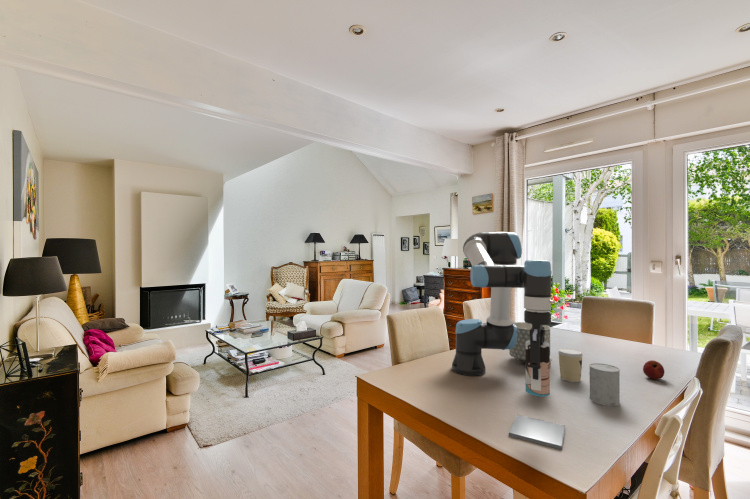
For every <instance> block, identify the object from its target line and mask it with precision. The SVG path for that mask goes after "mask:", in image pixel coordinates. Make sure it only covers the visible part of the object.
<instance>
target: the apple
mask: <svg viewBox="0 0 750 499" xmlns="http://www.w3.org/2000/svg"><path fill="white" fill-rule="evenodd" d="M642 372H643V374H644V375H645V376H646V377H647V378H649V379H651V380H660V379H662V378H663V377H664V376H665V369H664V366H663V365H662V364H661V363H660V362H659V361H656V360H648V361H646V362H645V363H644V364H643V366H642Z"/></svg>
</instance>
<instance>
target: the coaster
mask: <svg viewBox="0 0 750 499" xmlns="http://www.w3.org/2000/svg"><path fill="white" fill-rule="evenodd" d="M509 429H510V430H509V431H508V436H509V437H512V438H516V439H519V440H524V441H527V442H531V443H536V444H538V445H542V446H545V447H546V446H547V447H550V448H553V449H557V450H563V443H564V436H565V432H566V431H565V430H566V425H565V424H560V423H556V422H552V421H547V420H544V419H539V418H534V417H531V416H526V415H521V414H517V415H516V417H515V418H514V421H513V422H512V425H511V427H510V428H509Z"/></svg>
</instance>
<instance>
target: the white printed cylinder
mask: <svg viewBox="0 0 750 499" xmlns="http://www.w3.org/2000/svg"><path fill="white" fill-rule="evenodd" d="M550 356H551V343H550V344H549V343H547V342H543V345H541V359H540V366H541V391H539V390H533V389H531V367H528V365H530V340H529V341H526V363H525V393H528V394H529V395H531V396H535V397H536V396H537V397H549V396H550V393H551V392H550V391H551V383H550V382H551V381H550V380H551V375H550V373H551V370H550V369H551V363H550ZM535 364H536V363H535Z"/></svg>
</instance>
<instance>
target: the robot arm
mask: <svg viewBox="0 0 750 499" xmlns="http://www.w3.org/2000/svg"><path fill="white" fill-rule="evenodd" d="M521 243H522V242H521V239H520V237H519V235H518V233H516V232H511V231H496V232H495V231H494V232H493V231H491V232H487V231H486V232H484V231H482V232H477V233H474V234H472V235H470V236H469V237H468V238H467V239H466V240H465V241H464V243H463V246H462V252H463V255H464V257H465V258H466V259H467V260H469V262H470V265H471V267H470V275H469V276H470V283H471V285H472V286H473V287H475V288H482V289H483V288H490V310H489V311H490V312H489V314H490V315H489V316H488V317H487V318H486V322H483V321H482V320H481V319H479V318H478V319H477V318H468V319H462V320H459V321H457V323H456V325H455V331H454V332H455V355H454V356H453V357H454V358H453V360H452V364H451V370H452V372H454V373H456V374H459V375H463V376H470V377H471V376H475V377H476V376H482V375H484V374H486V365H485V362H484V359H483V356H482V349H485V350H502V351H505V350H509V349H512V348H513V347H514V346H515V344H516V341H517V327H516V325H515V324H513V323H514V320H513V319H512V318H511V307H512V306H511V305H512V303H511V302H512V288H514V289H521V288H522V289H523V291H524V293H523V308H524V309H525V310H524V312H523V322H526V323H528V324H532V328H531V329H530V365H528V367H531V389H533V390H539V391H541V366H540V359H541V345H543V342H544V341H545V328H544V327H543V325H547V326H550V325H551V323H552V312H551V309H552V304H554V300H551V299H552V264H551V262H550V260H548V259H547V260H545V259H527V260H525V261H524V264H521V265H520V264H519V265H517V260H520V259H521V258H522V253H523V251H522V249H523V248H522V244H521ZM535 363H536V364H535Z"/></svg>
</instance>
